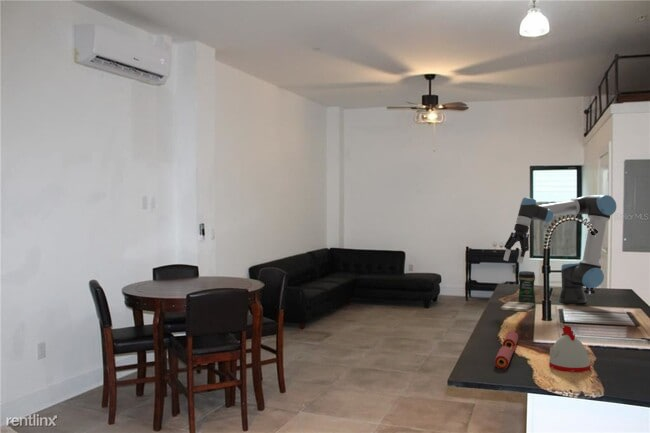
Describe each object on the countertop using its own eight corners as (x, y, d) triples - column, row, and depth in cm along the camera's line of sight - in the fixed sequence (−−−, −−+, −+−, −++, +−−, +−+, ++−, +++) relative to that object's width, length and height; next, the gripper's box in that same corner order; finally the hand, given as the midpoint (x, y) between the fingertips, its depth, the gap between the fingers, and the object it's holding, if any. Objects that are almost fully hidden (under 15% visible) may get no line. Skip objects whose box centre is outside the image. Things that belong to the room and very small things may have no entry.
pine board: (533, 305, 329) (533, 302, 329) (526, 311, 312) (526, 308, 312) (509, 303, 337) (509, 301, 337) (500, 309, 320) (500, 306, 320)
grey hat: (578, 360, 215) (578, 321, 215) (597, 371, 201) (596, 329, 201) (543, 362, 215) (542, 323, 214) (559, 373, 201) (558, 331, 201)
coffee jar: (517, 302, 340) (517, 271, 340) (519, 300, 347) (519, 270, 347) (534, 303, 336) (534, 272, 336) (536, 301, 343) (535, 270, 343)
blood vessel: (506, 342, 248) (506, 330, 248) (518, 343, 246) (518, 331, 246) (494, 368, 209) (494, 355, 209) (508, 369, 207) (508, 356, 207)
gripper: (504, 222, 326) (494, 257, 324) (530, 223, 301) (519, 261, 300) (515, 226, 327) (505, 261, 326) (541, 227, 303) (531, 265, 302)
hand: (512, 261), depth 313 cm, fingers open, 13 cm apart
